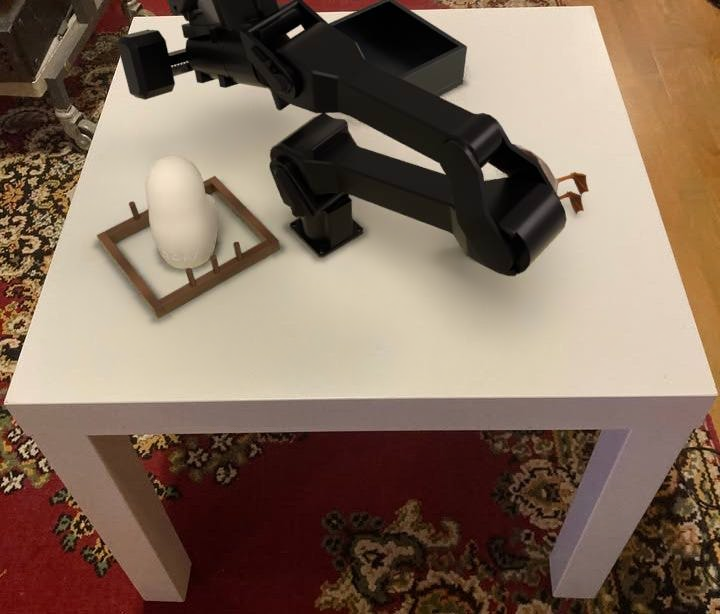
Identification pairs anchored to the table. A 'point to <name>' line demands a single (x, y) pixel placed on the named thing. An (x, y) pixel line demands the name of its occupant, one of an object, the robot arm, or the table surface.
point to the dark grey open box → (406, 46)
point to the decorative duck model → (577, 177)
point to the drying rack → (194, 285)
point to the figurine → (181, 212)
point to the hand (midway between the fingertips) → (160, 43)
